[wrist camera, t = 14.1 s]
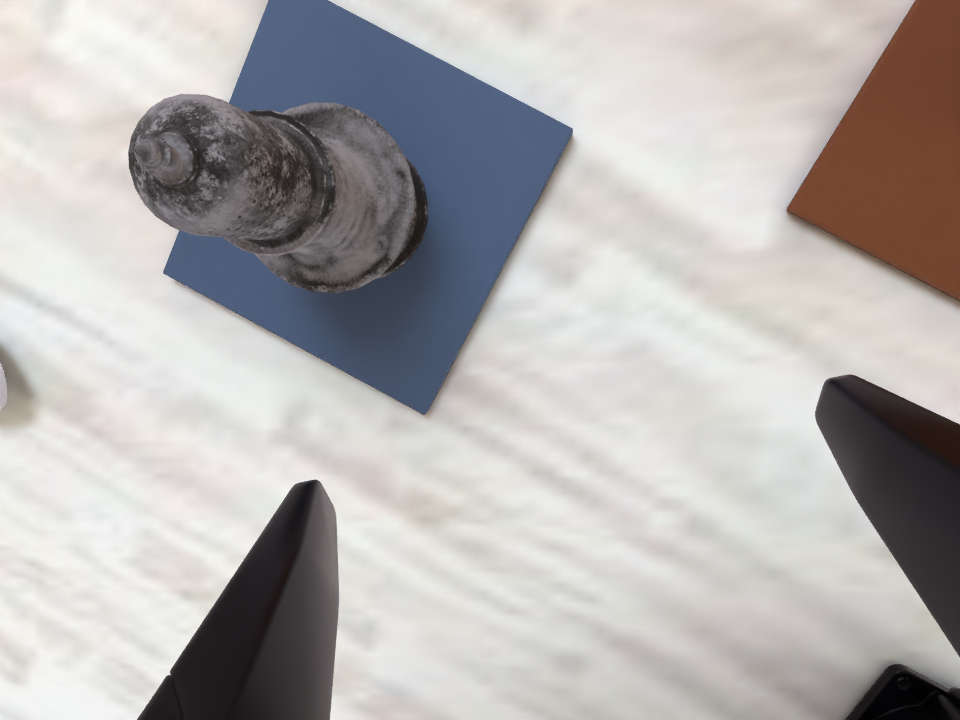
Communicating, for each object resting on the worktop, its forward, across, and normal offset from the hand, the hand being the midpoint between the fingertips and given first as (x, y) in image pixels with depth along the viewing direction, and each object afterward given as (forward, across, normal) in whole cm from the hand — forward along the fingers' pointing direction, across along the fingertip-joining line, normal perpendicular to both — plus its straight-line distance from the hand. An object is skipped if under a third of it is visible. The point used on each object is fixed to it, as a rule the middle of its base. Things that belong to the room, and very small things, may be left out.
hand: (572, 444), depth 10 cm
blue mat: (+15, +5, +1) cm, 16 cm away
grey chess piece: (+14, +5, +1) cm, 15 cm away
